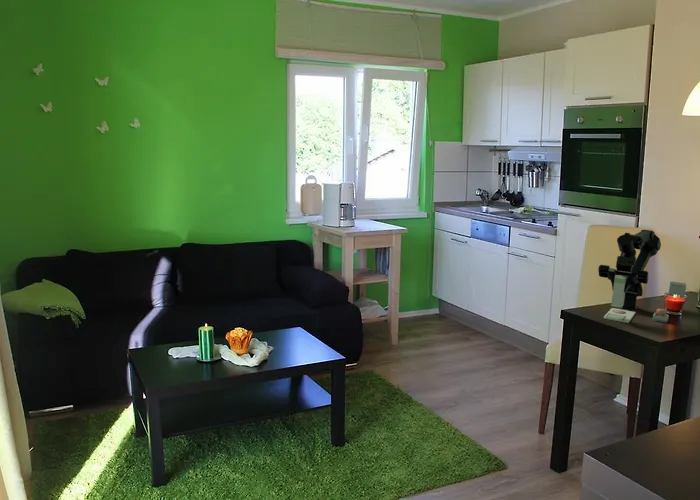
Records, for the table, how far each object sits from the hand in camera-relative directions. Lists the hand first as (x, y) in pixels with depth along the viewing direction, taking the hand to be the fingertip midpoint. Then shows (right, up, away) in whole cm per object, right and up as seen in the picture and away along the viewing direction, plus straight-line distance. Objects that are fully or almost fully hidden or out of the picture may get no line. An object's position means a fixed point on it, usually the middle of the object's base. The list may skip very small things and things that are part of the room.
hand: (618, 290), depth 250 cm
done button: (+19, -10, +3) cm, 21 cm away
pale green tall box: (+1, -6, +2) cm, 7 cm away
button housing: (+18, -12, +3) cm, 22 cm away
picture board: (+4, -11, +7) cm, 13 cm away
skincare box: (+33, -10, +20) cm, 40 cm away
